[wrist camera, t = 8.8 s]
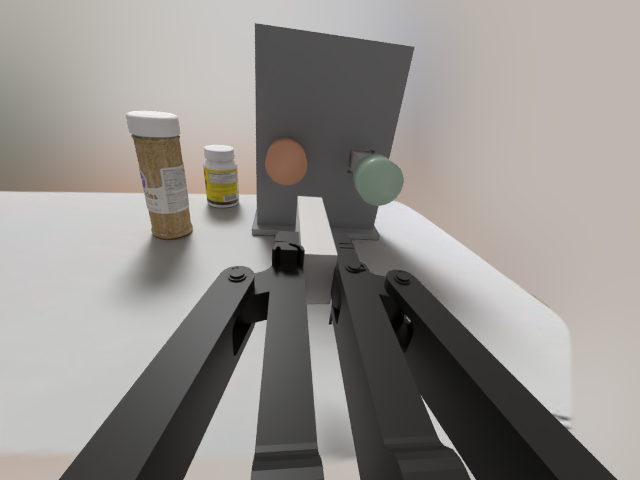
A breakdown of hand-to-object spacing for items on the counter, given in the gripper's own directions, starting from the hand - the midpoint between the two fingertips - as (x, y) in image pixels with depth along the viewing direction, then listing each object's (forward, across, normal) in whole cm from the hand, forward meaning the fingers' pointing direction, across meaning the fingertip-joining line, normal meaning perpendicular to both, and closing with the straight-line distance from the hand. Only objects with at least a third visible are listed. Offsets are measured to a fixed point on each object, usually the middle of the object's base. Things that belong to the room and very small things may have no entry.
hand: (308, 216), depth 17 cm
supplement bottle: (+26, -11, -10) cm, 30 cm away
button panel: (+19, +3, -10) cm, 22 cm away
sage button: (+15, +8, -2) cm, 17 cm away
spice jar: (+16, -15, -10) cm, 24 cm away
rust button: (+19, -2, -2) cm, 19 cm away
